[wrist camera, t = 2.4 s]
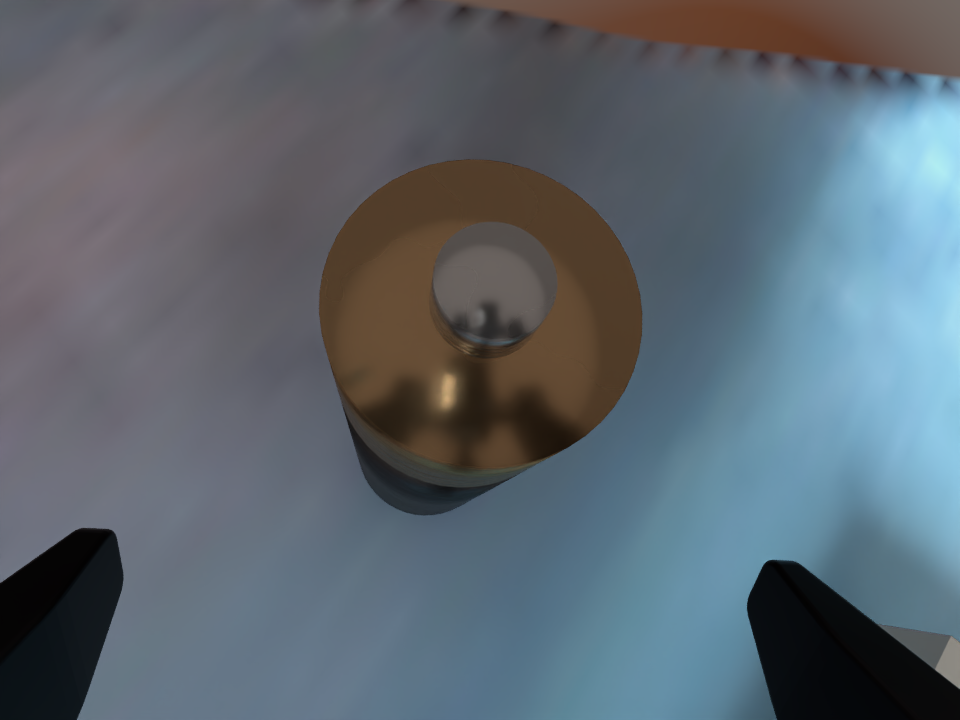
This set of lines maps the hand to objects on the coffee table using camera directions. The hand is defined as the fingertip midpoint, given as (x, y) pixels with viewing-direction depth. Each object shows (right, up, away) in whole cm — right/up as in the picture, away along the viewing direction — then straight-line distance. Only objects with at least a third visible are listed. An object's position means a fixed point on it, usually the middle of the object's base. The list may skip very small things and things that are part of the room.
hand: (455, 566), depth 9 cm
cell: (-1, 0, +11) cm, 11 cm away
